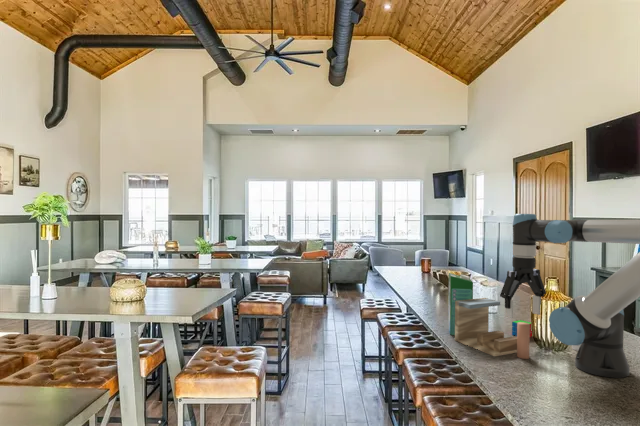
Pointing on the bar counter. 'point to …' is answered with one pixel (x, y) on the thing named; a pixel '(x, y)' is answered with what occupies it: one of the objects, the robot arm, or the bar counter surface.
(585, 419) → the bar counter surface
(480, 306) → the station
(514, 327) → the puzzle toy
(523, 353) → the peg
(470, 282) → the milk carton
